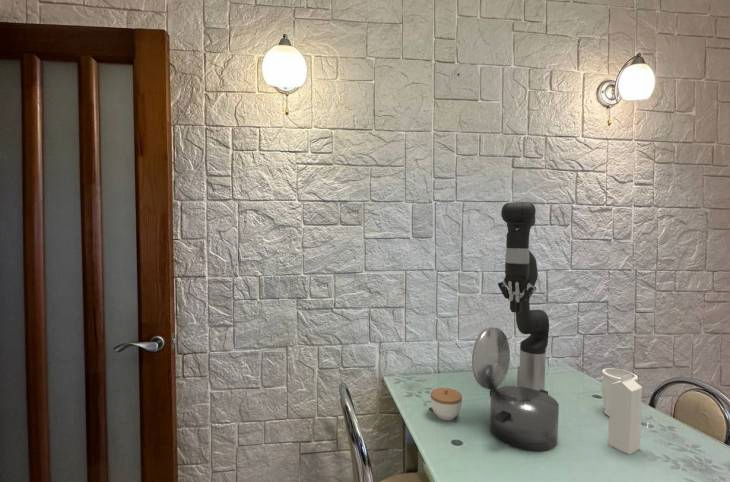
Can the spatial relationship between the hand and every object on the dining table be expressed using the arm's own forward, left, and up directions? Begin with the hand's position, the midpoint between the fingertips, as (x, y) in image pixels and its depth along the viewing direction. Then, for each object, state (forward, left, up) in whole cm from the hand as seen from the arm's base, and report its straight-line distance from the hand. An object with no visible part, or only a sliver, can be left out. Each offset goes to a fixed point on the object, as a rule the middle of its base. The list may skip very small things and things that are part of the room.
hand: (515, 312), depth 130 cm
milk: (+26, +18, -37) cm, 49 cm away
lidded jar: (-11, -20, -37) cm, 44 cm away
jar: (+13, +36, -37) cm, 53 cm away
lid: (-3, -7, -16) cm, 17 cm away
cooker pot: (+8, -4, -37) cm, 38 cm away
